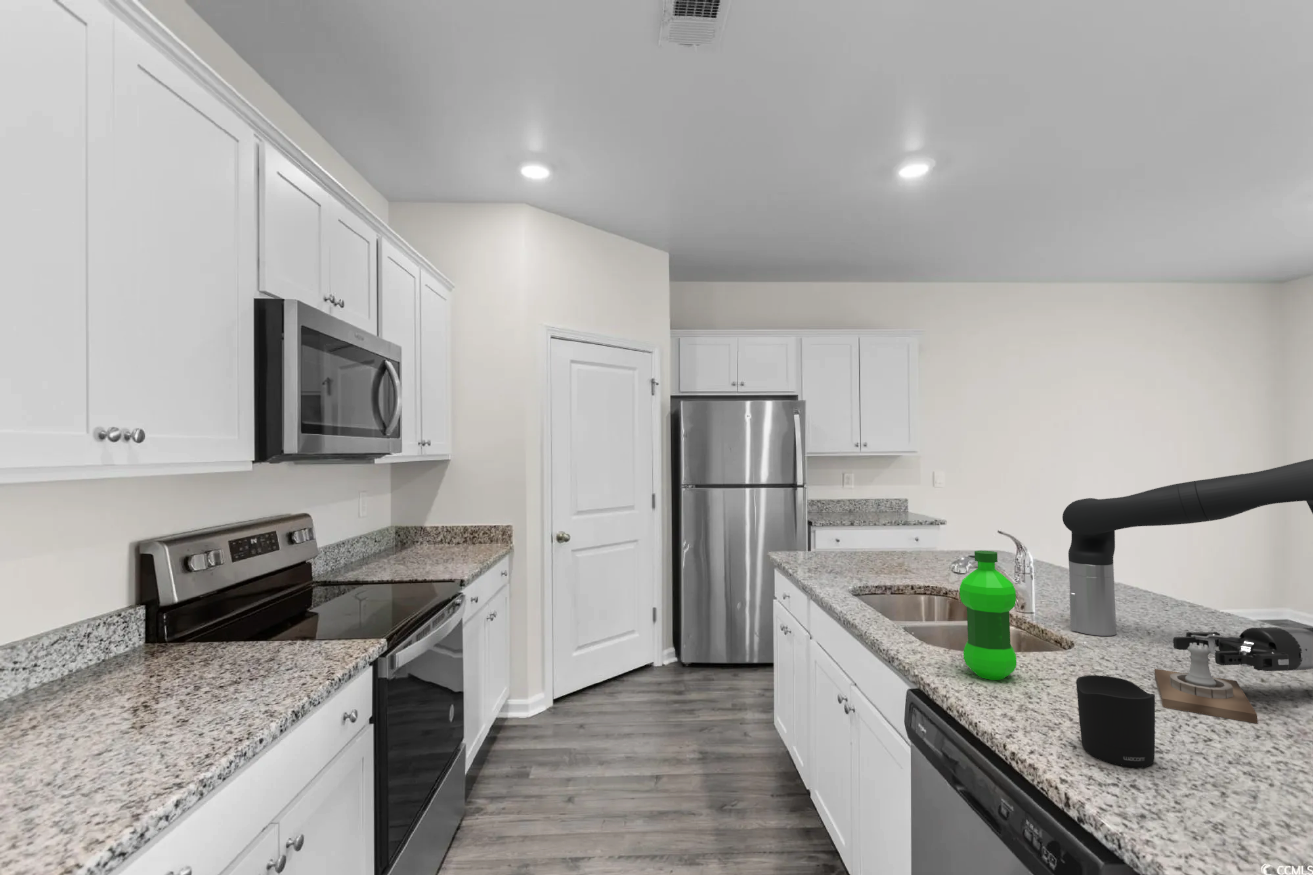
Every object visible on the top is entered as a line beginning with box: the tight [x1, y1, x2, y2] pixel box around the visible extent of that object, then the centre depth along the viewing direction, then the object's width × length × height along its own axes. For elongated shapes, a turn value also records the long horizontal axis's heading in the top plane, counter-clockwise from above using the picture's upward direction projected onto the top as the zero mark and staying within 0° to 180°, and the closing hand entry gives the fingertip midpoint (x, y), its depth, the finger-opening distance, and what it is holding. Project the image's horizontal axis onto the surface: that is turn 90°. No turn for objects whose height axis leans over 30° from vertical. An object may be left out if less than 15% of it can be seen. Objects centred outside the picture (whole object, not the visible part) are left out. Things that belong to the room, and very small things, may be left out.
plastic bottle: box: [959, 550, 1017, 681], centre depth 124 cm, size 10×10×25 cm
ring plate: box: [1153, 668, 1258, 724], centre depth 110 cm, size 12×18×3 cm, turn 144°
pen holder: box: [1075, 674, 1156, 769], centre depth 91 cm, size 9×9×10 cm
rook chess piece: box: [1185, 643, 1217, 688], centre depth 111 cm, size 4×4×8 cm
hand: (1195, 650), depth 111 cm, fingers open, 8 cm apart
